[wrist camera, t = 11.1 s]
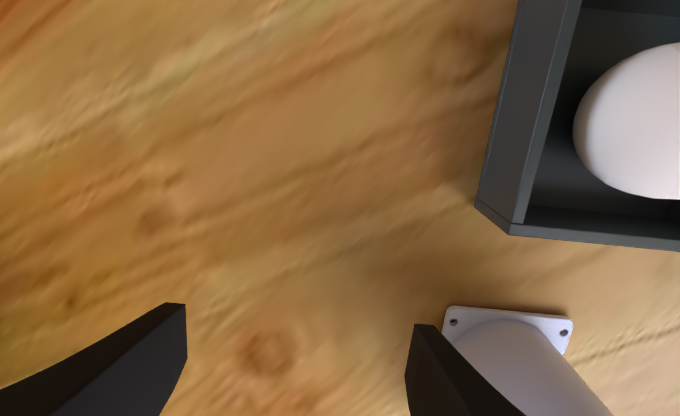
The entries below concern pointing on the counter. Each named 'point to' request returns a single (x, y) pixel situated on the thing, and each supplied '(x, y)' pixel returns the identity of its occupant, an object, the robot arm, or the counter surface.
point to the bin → (569, 125)
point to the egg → (634, 124)
